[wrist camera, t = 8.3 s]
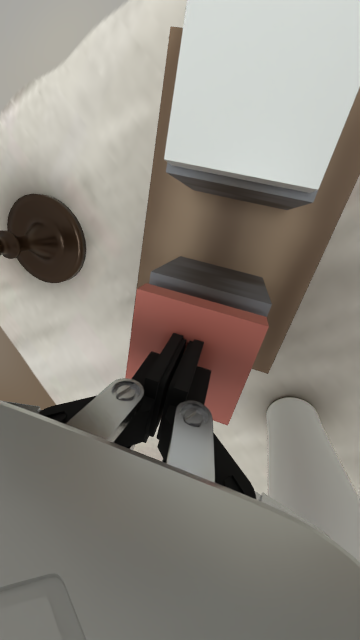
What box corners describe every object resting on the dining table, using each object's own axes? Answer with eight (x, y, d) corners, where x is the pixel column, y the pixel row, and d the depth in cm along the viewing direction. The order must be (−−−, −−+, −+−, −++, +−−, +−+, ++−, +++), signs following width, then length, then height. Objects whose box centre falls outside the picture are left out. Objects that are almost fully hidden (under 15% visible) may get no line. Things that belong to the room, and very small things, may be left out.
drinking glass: (249, 397, 27) (256, 570, 14) (312, 382, 24) (396, 578, 11) (271, 440, 28) (296, 634, 15) (332, 430, 26) (428, 654, 12)
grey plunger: (327, 85, 14) (424, -74, 6) (284, 204, 16) (318, 189, 9) (221, 71, 15) (199, -83, 7) (197, 186, 17) (164, 159, 10)
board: (384, 83, 15) (586, -116, 6) (265, 357, 25) (277, 434, 16) (182, 57, 17) (115, -123, 8) (142, 319, 27) (91, 368, 18)
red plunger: (258, 283, 18) (269, 326, 10) (233, 352, 20) (227, 425, 13) (179, 262, 19) (137, 288, 11) (165, 331, 21) (124, 388, 14)
